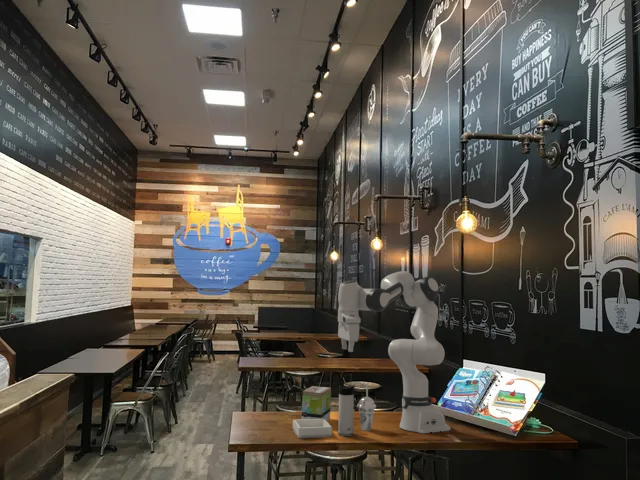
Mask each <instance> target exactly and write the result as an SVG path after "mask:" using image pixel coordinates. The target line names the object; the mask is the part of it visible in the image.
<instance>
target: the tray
mask: <svg viewBox="0 0 640 480" xmlns="http://www.w3.org/2000/svg"><path fill="white" fill-rule="evenodd" d="M292 430H293V432H294V433H295V435H296V437H297V439H313V438H314V439H316V438H317V439H319V438H320V439H321V438H332V437H333V436H332V435H333V433H332V432H333V426H332V425H330V423H329V422H328V420H327V421H326V420H325V419H300V418H299V419H292Z"/></svg>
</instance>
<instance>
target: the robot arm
mask: <svg viewBox="0 0 640 480" xmlns="http://www.w3.org/2000/svg"><path fill="white" fill-rule="evenodd" d="M338 288H339V289H338V296H337V297H338V299H337V300H338V301H337V302H338V309H337V322H338V330H337V336H338V338H340V339H341V349H342V350H347V351H348V352H349V353H353V352H354V346H355V343H356V342H358V341H359V337H360V324H361V322H362V321H361V317H360V315H359V311H368V312H371V311H372V312H377V313H378V312H379V313H381V312H383V311H384V310H385V309H386V308H387V307H388V305H389V304H390V303H392V302H394V301H395V300H397V299H399V302H400V304H401V305H402V306H403V307H404V308H406V309H414V308H415V307H416V311H415V312H414V313H415V314H414V316H413V319H412V322H411V325H410V334H411V336H412V337H413V339H411V338H409V339H408V338H398V339H393V340H392V341H391V342H390V343H389V345H388V349H387V352H388V356H389V358H390V359H391V360H392V361H393V363H395V364H396V365H397V368H398V369H399V370H400V373H401V375H402V377H401V378H402V385H403V386H402V389H403V393H402V396H401V397H402V398H401V406H402V412H401V419H400V423H399V428H400V429H402V430H405V431H408V432H409V431H410V432H416V433H420V434H430V432H432V433H440V431H441V432H449V430H450V431H452V430H451V426H450V425H449V424H447V423H446V419H445V415H444V414H443V413H442V412H441V410H439V409H438V408H437V407H436V406H434V405H433V404H434V403H436V402H437V399H436V398H435V397H431V396H429V380H428V378H427V375H425V374H424V373H423V372H421V371H420V370H419V369H418V368H417V365H418V366H419V365H421V366H437V365H440V364H442V362H443V361H444V359H445V354H446V352H445V349H444V347H443V345H442V344H441V342H439V341H438V340H437V339H436V337H435V331H436V328H437V323H438V318H439V317H438V315H439V309H438V305H436V303H435V302H436V301H437V300H438V297H439V296H438V295H439V294H440V293H439V290H440V286H439V283H438V281H437V280H436V279H435V277H432V276H424V277H422V278H421V279H420V278H419V279H418V280H416V281H415V279H414V276H413V274H412V273H410V272H409V271H405V270H402V271H396V272H393V273H390V274H387V275H386V276H385V277H384V278H382V280H381V282H380V288H363V287H361V285H359V284H358V281H357V280H353V279H351V280H344V281H342V282H340V284H339V286H338ZM347 342H348V344H347Z"/></svg>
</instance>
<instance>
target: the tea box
mask: <svg viewBox="0 0 640 480" xmlns="http://www.w3.org/2000/svg"><path fill="white" fill-rule="evenodd" d="M331 397H332V387H326V386H317V385H315V386H314V385H311V386H310V387H308V388H306V389H304V390H302V397H301V398H302V400H301V401H302V402H301V417H300V418H301V419H325V420H326V421H327V422H328V421H329V420H330V418H331V403H332V401H331V400H332V398H331Z"/></svg>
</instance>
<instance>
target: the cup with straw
mask: <svg viewBox="0 0 640 480" xmlns="http://www.w3.org/2000/svg"><path fill="white" fill-rule="evenodd" d="M355 384H356V385H357V384H358V385H360V386H363V387H366V390H365V394H366V396H363V397H361V399H359V401H358V403H357V405H356V407H357V408H358V412H359V420H360V427H361V428H360V429H361V430H362V431H372V427H373V418H374V413H375V409H376V408H377V405H376V404H375V401H374V399H373V398H371V397H370V396H369V386H368V385H367V383H362V382H359V381H355Z"/></svg>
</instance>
